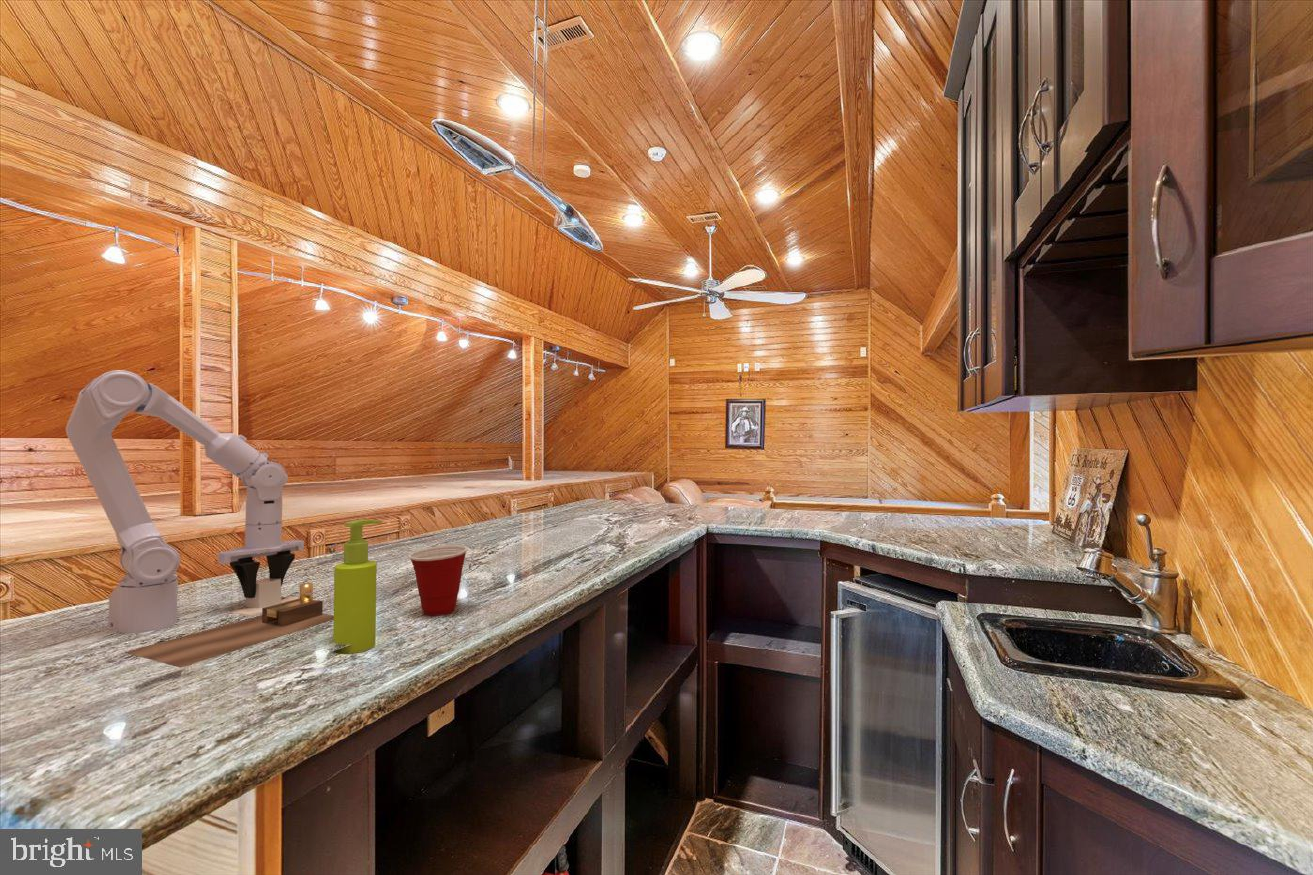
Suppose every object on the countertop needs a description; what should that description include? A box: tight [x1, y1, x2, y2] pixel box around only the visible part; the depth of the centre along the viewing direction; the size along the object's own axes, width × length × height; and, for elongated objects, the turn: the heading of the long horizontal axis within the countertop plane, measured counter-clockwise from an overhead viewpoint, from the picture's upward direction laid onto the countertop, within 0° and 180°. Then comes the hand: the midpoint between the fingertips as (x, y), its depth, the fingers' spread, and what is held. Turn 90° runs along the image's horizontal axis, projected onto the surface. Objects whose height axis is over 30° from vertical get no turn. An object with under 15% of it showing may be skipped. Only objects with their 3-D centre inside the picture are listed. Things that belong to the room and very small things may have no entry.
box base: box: [124, 597, 334, 669], centre depth 88 cm, size 14×24×4 cm, turn 158°
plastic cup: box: [407, 544, 469, 617], centre depth 105 cm, size 11×11×12 cm
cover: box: [229, 577, 300, 617], centre depth 104 cm, size 11×11×6 cm
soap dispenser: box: [332, 518, 383, 655], centre depth 87 cm, size 6×7×20 cm
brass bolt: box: [267, 582, 317, 618], centre depth 95 cm, size 2×7×4 cm, turn 158°
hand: (262, 594), depth 104 cm, fingers open, 4 cm apart
